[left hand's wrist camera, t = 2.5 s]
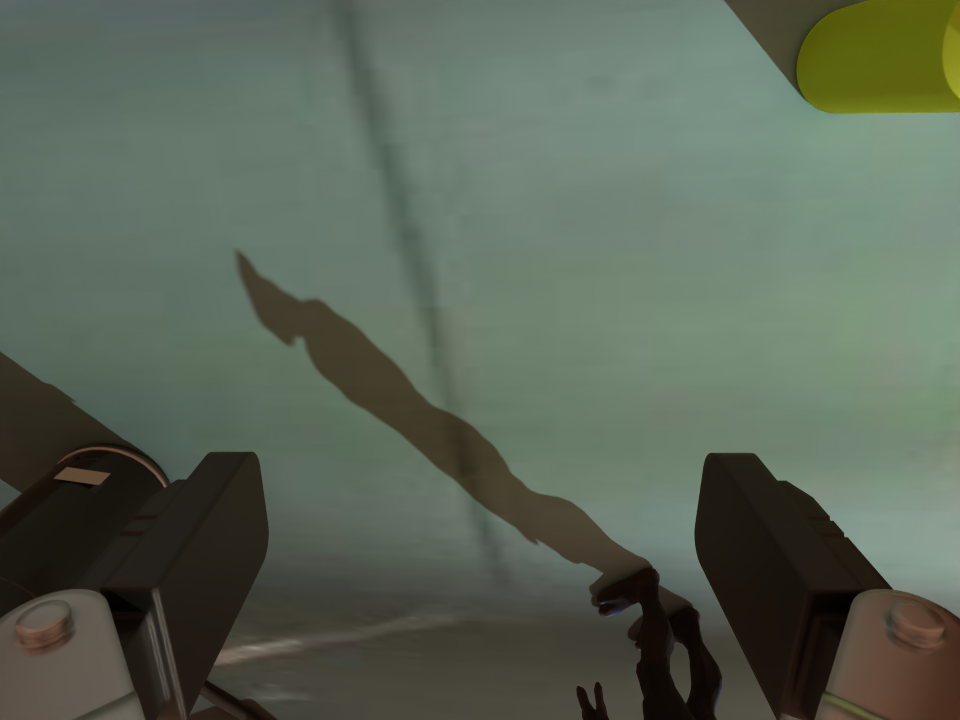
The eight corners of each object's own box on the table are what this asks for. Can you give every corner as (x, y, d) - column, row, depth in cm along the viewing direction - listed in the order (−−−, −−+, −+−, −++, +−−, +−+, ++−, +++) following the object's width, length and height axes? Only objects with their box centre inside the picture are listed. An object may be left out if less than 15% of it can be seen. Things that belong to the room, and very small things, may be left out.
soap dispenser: (776, 121, 40) (1041, 126, 21) (816, -4, 37) (1156, -125, 18) (866, 138, 40) (1205, 158, 21) (911, 16, 38) (1339, -83, 19)
